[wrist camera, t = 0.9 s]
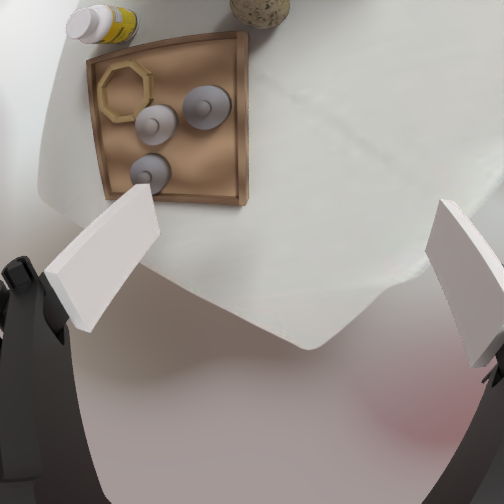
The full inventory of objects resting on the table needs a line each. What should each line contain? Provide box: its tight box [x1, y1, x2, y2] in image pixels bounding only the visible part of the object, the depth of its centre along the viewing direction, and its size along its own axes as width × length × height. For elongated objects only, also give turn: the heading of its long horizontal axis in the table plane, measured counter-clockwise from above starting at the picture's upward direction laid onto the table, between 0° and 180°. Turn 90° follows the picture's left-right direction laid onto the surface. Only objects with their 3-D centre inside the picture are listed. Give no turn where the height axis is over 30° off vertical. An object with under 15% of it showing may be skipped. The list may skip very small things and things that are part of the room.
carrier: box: [86, 31, 249, 206], centre depth 32 cm, size 22×22×5 cm
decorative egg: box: [230, 0, 290, 29], centre depth 20 cm, size 6×6×10 cm
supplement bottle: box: [66, 4, 139, 44], centre depth 22 cm, size 5×5×10 cm
